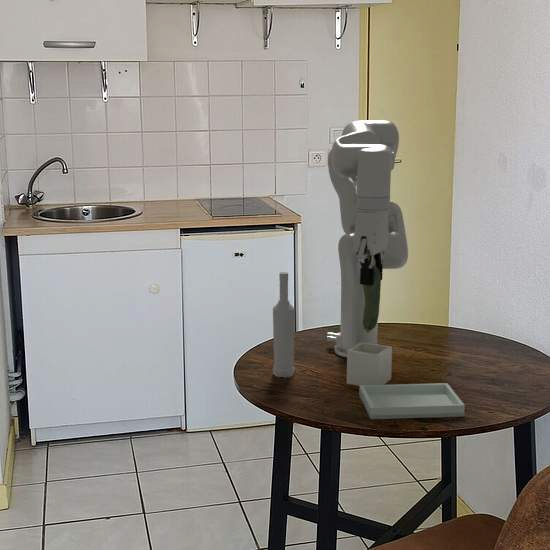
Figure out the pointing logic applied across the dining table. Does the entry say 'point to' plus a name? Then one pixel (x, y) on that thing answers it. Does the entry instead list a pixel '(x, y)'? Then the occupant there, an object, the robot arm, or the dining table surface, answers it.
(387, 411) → the tray
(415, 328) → the dining table surface
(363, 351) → the grey square open box
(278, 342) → the bottle
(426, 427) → the dining table surface
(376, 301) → the vegetable
